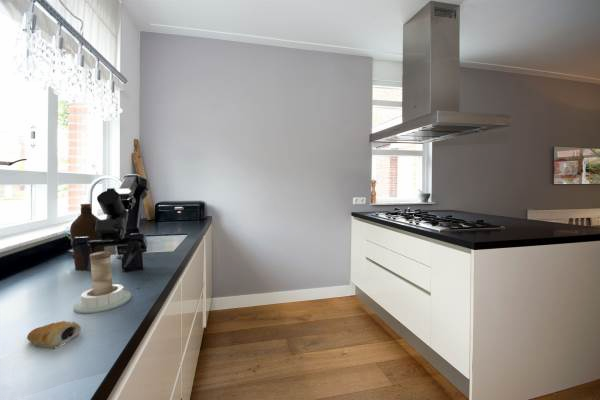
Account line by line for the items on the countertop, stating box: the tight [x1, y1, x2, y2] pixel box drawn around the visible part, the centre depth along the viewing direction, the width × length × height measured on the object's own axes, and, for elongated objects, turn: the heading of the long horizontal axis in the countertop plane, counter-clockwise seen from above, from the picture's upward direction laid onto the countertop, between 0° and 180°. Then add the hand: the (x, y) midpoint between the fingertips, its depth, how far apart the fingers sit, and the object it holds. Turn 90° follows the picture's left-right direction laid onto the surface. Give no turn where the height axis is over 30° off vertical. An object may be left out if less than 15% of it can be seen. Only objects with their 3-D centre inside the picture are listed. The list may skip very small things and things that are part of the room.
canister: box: [90, 250, 113, 296], centre depth 77 cm, size 5×5×13 cm
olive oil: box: [69, 203, 105, 271], centre depth 110 cm, size 11×11×25 cm
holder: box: [73, 283, 132, 314], centre depth 77 cm, size 13×13×3 cm
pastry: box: [26, 320, 82, 349], centre depth 59 cm, size 9×7×4 cm
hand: (105, 268), depth 80 cm, fingers open, 9 cm apart
